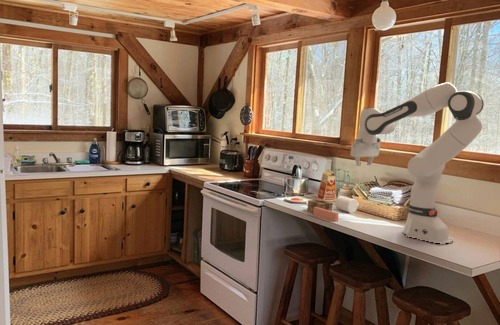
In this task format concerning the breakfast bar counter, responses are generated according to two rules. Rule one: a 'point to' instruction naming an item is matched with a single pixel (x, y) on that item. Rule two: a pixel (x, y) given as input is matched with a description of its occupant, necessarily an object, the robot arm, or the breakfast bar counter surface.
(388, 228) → the breakfast bar counter surface
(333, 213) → the orange rectangular bar
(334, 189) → the milk carton
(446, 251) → the breakfast bar counter surface
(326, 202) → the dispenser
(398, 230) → the breakfast bar counter surface
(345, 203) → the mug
